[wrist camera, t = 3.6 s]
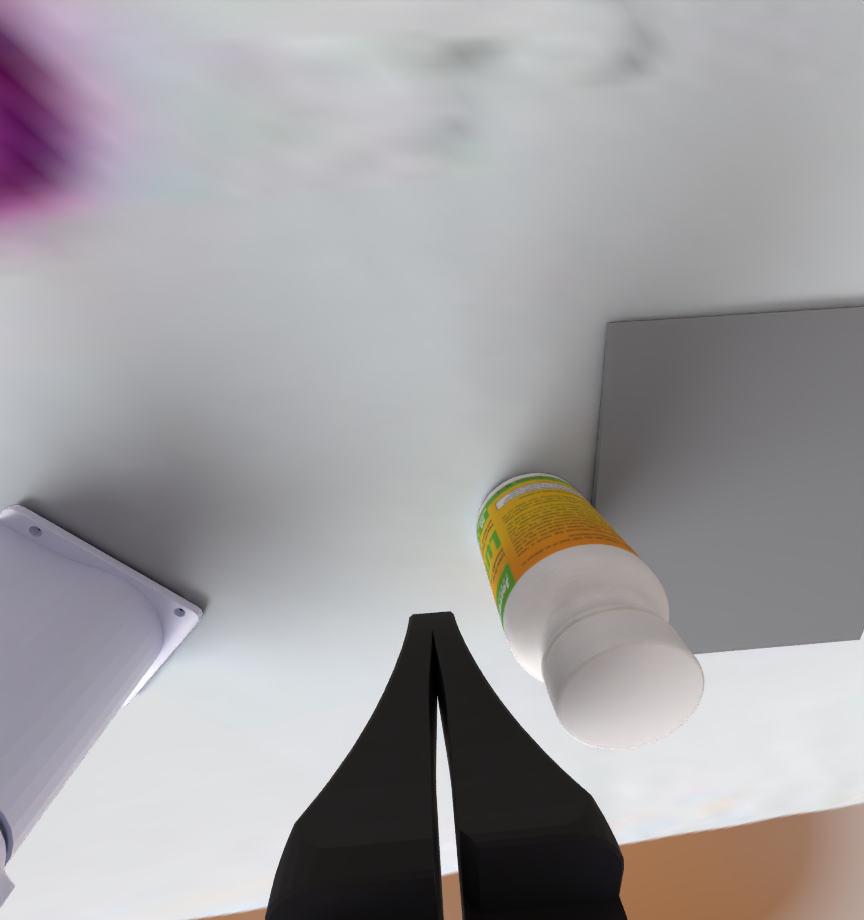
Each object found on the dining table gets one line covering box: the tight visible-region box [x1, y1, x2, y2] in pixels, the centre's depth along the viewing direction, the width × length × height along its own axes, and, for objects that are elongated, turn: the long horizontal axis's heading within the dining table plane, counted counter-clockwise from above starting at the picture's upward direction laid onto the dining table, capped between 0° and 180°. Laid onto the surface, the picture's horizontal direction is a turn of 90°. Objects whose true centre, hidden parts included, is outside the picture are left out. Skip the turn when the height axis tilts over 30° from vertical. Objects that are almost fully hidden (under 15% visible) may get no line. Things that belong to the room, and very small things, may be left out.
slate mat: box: [592, 306, 864, 654], centre depth 20 cm, size 16×18×1 cm
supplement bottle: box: [476, 473, 704, 750], centre depth 15 cm, size 5×5×10 cm
